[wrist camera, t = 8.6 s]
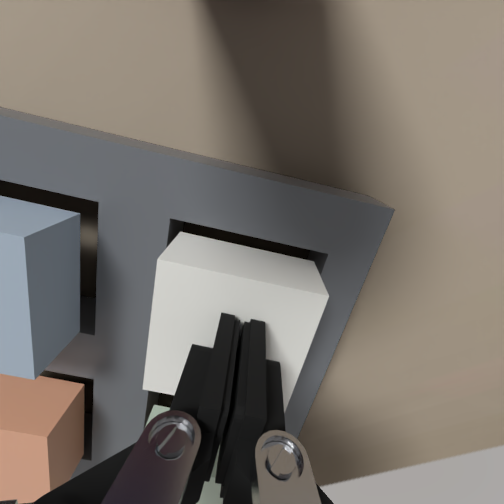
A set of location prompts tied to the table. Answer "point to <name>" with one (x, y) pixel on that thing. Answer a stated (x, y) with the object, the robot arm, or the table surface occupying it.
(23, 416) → the terracotta key
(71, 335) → the slate key
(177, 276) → the white key
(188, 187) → the keypad base
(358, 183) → the table surface
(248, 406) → the robot arm
